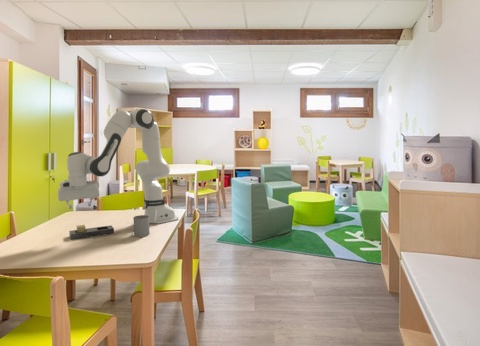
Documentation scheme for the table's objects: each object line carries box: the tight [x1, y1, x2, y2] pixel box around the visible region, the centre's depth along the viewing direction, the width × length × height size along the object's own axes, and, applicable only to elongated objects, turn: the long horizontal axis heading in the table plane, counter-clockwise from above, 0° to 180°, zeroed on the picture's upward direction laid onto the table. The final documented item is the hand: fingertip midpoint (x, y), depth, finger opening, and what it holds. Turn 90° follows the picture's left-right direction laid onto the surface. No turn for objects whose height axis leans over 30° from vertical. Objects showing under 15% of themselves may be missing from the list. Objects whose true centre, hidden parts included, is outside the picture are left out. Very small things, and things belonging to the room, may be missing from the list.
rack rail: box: [68, 224, 115, 241], centre depth 189 cm, size 22×8×3 cm, turn 120°
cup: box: [132, 214, 151, 238], centre depth 189 cm, size 8×8×10 cm
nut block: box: [76, 224, 86, 233], centre depth 186 cm, size 4×4×6 cm
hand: (80, 207), depth 185 cm, fingers open, 8 cm apart
